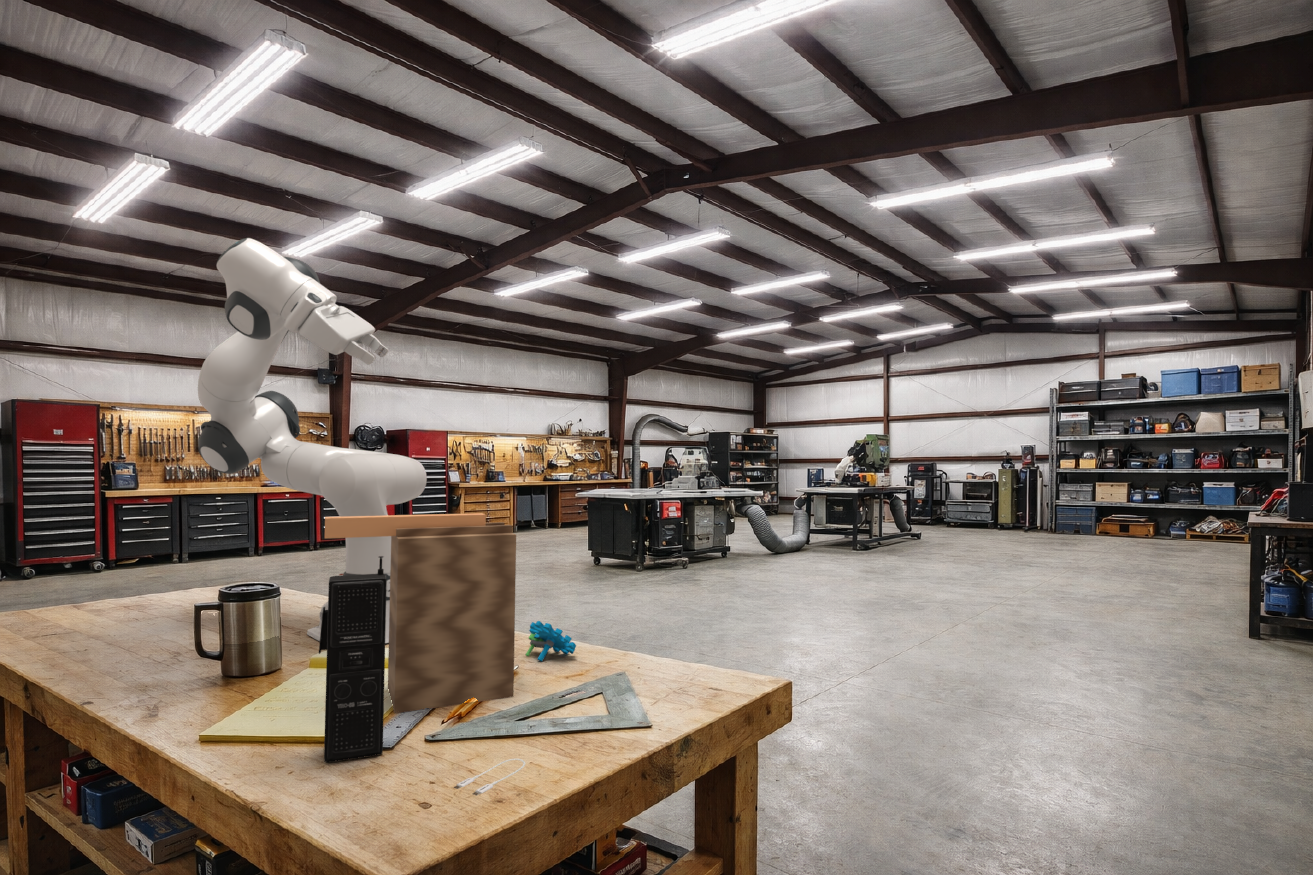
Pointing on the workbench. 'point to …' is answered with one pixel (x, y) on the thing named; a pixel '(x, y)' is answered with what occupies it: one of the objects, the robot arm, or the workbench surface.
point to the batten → (395, 524)
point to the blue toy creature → (549, 640)
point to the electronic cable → (487, 786)
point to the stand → (451, 615)
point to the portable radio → (354, 665)
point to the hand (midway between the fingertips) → (379, 357)
